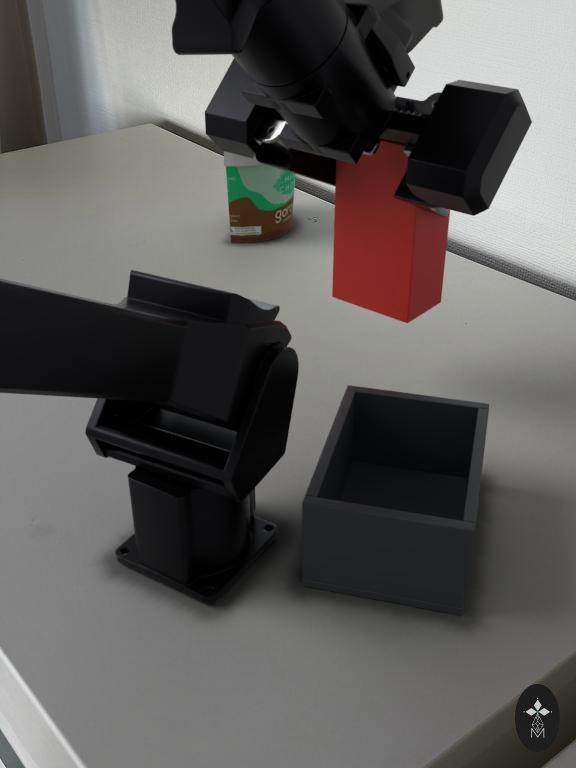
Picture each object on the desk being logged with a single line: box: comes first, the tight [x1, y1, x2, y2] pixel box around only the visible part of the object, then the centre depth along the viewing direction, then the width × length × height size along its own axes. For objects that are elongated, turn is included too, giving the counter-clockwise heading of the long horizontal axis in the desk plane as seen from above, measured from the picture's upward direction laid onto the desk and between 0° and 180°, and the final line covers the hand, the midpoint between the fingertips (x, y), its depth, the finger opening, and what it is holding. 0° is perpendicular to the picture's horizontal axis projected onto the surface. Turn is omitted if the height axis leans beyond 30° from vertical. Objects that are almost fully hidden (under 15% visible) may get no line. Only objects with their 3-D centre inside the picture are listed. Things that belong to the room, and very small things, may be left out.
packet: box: [331, 141, 451, 324], centre depth 55 cm, size 4×6×11 cm, turn 50°
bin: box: [301, 384, 490, 616], centre depth 47 cm, size 11×8×6 cm
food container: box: [223, 151, 297, 244], centre depth 85 cm, size 12×6×10 cm, turn 168°
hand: (405, 198), depth 55 cm, fingers closed on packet, 6 cm apart
